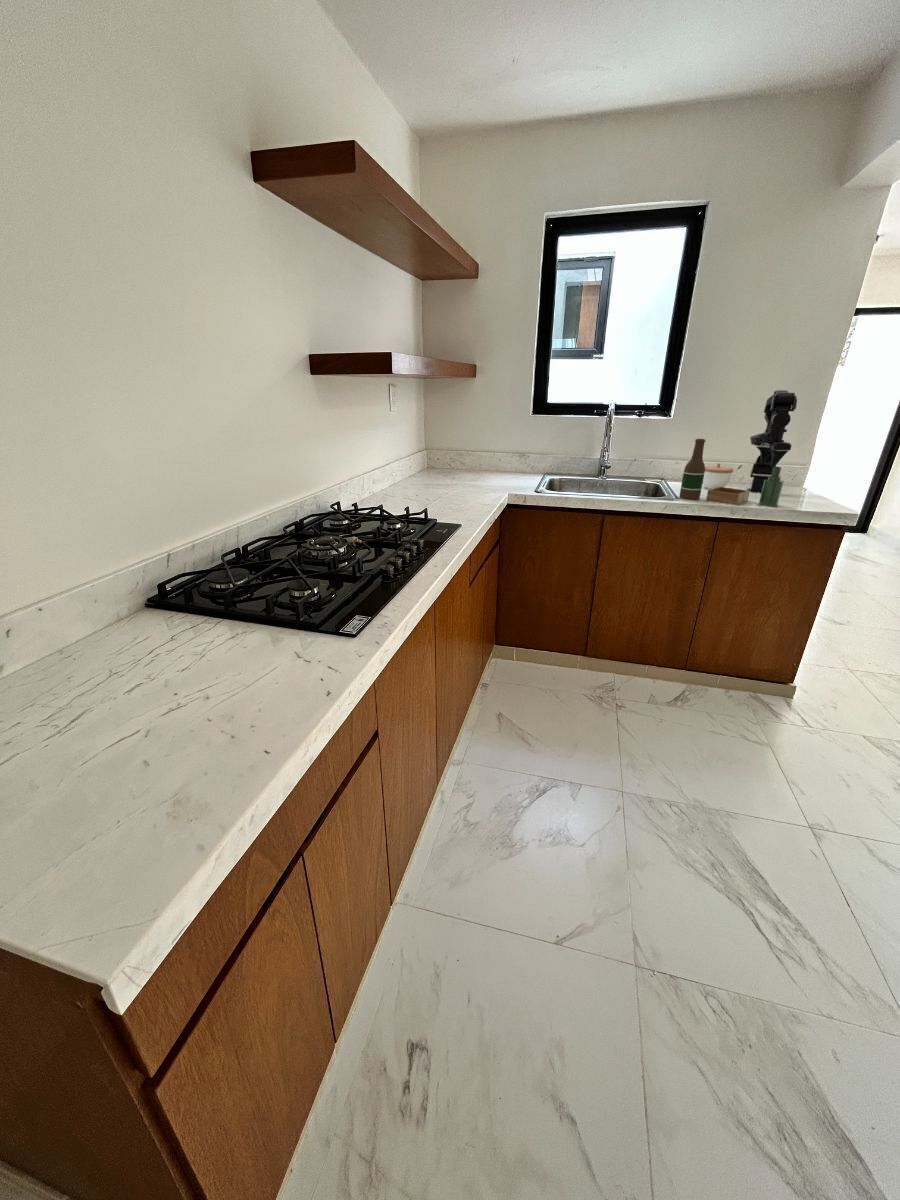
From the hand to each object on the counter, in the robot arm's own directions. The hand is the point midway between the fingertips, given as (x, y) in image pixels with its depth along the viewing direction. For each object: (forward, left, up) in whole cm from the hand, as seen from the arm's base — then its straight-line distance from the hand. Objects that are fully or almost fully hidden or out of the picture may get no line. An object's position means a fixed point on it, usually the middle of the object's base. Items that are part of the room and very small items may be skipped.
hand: (767, 466), depth 206 cm
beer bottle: (+9, -31, -13) cm, 35 cm away
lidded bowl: (-20, -12, -13) cm, 27 cm away
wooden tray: (+11, -17, -13) cm, 24 cm away
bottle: (+17, -4, -13) cm, 22 cm away
